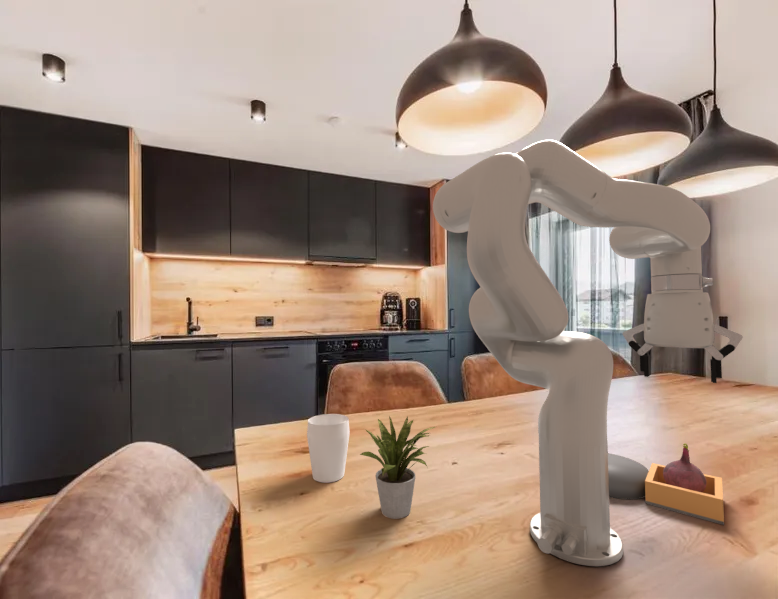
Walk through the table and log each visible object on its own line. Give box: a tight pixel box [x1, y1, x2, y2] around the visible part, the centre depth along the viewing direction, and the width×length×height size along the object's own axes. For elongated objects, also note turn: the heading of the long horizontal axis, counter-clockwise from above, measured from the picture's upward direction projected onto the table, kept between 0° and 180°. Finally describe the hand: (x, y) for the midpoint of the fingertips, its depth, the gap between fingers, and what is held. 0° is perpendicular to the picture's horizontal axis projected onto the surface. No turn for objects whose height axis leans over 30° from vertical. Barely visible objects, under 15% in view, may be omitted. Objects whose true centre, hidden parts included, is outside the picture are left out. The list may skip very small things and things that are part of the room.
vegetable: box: [663, 443, 707, 492], centre depth 67 cm, size 6×6×10 cm
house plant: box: [359, 415, 436, 520], centre depth 64 cm, size 14×14×16 cm
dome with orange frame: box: [608, 452, 725, 526], centre depth 72 cm, size 14×24×4 cm, turn 49°
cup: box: [306, 413, 351, 484], centre depth 79 cm, size 9×9×12 cm
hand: (679, 378), depth 68 cm, fingers open, 9 cm apart
